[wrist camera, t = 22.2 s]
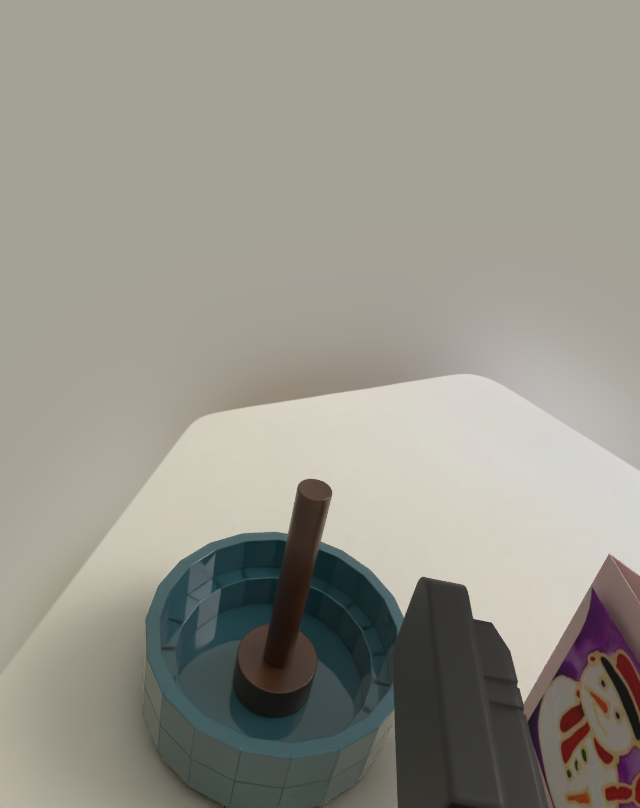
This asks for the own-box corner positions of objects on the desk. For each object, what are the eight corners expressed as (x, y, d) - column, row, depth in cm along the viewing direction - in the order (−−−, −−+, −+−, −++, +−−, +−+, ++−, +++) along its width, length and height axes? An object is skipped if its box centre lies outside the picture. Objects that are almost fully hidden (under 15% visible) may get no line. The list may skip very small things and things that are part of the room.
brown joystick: (239, 724, 34) (277, 524, 27) (227, 651, 38) (258, 460, 31) (320, 711, 36) (377, 520, 28) (300, 642, 40) (346, 459, 32)
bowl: (143, 851, 29) (148, 784, 26) (141, 601, 41) (144, 537, 38) (426, 791, 34) (456, 730, 31) (345, 584, 46) (362, 527, 43)
